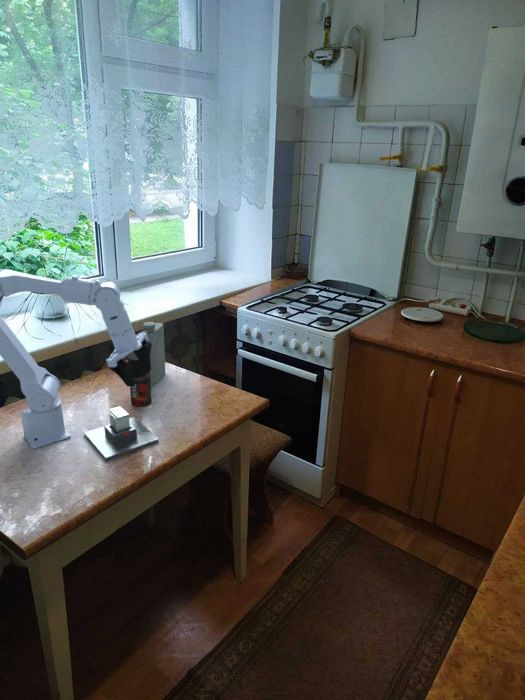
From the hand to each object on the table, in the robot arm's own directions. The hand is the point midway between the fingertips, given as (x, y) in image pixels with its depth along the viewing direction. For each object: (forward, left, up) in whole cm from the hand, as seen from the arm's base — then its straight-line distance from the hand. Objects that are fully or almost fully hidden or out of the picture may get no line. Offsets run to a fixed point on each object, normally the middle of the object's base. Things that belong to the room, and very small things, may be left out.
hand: (139, 377), depth 127 cm
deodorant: (+6, +14, -15) cm, 22 cm away
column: (-7, -1, -15) cm, 17 cm away
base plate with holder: (-7, -1, -15) cm, 17 cm away
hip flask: (+15, +25, -15) cm, 33 cm away
